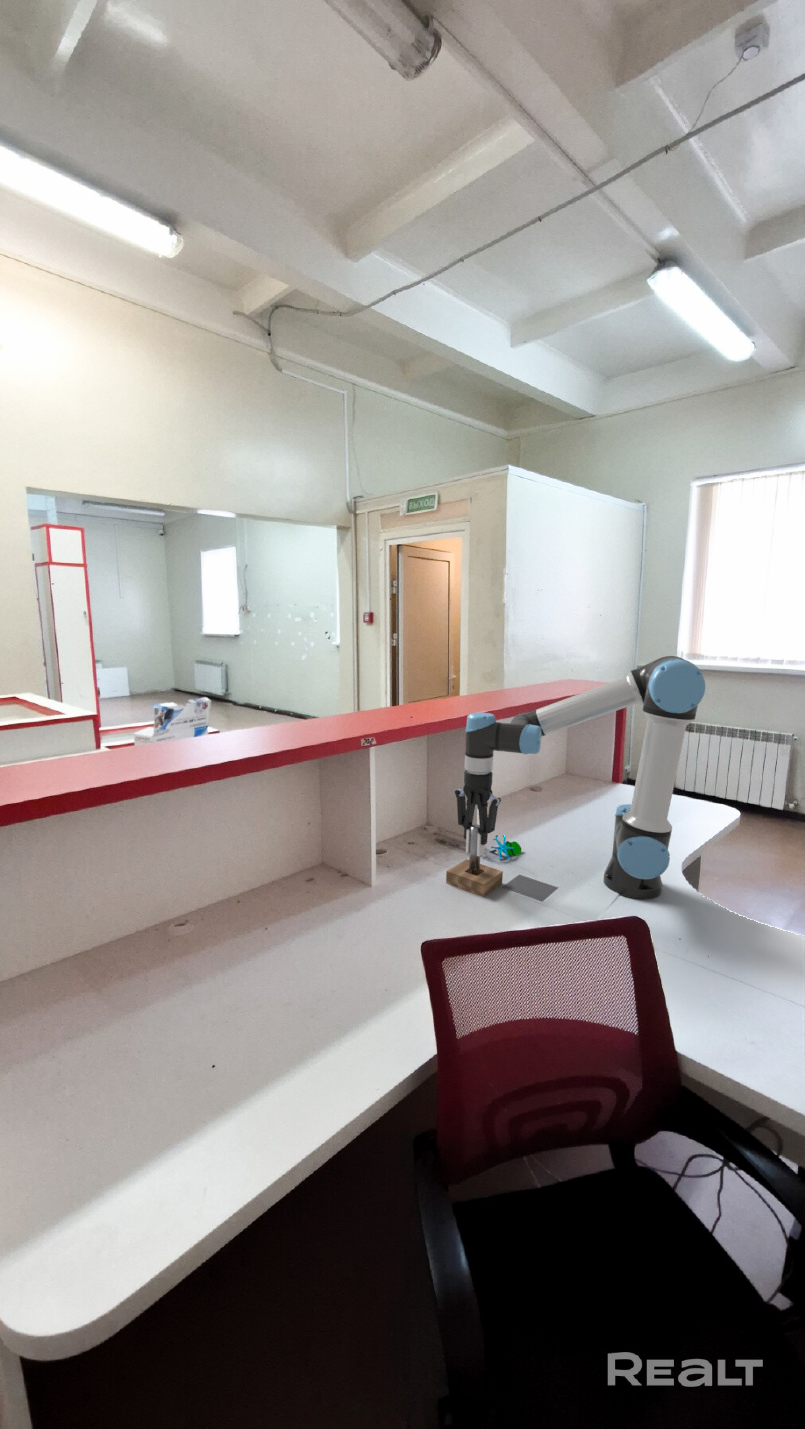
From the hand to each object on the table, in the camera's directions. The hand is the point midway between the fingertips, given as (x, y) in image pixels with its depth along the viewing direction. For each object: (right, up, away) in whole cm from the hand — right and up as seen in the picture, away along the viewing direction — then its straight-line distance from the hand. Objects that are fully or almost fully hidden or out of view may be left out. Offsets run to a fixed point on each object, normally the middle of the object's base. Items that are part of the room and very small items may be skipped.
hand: (474, 852), depth 161 cm
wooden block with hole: (0, -9, +2) cm, 9 cm away
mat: (+15, -10, 0) cm, 18 cm away
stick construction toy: (+11, -6, +21) cm, 25 cm away
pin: (0, -4, +1) cm, 4 cm away
